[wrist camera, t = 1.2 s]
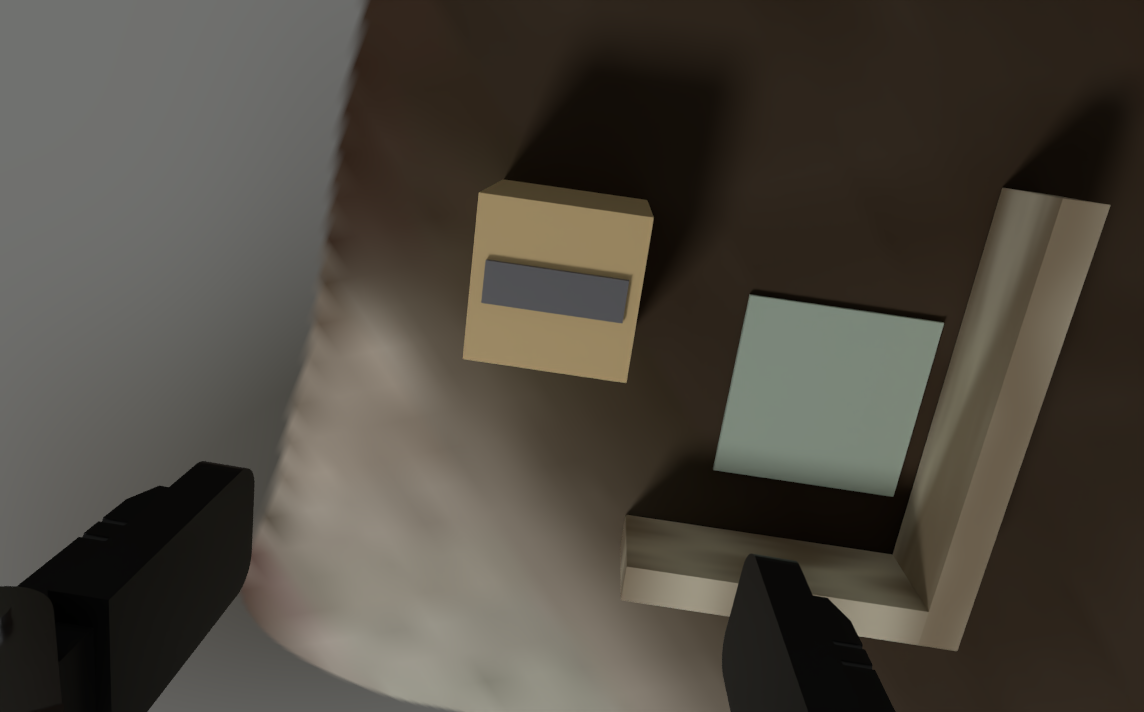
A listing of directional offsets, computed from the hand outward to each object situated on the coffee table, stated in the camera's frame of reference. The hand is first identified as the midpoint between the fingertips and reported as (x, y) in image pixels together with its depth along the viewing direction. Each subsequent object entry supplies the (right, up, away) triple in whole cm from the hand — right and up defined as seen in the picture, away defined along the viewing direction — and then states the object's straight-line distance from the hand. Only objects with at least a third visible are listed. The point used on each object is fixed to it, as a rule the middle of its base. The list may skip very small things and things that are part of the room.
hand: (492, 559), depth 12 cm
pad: (+11, +2, +18) cm, 22 cm away
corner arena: (+10, +2, +18) cm, 21 cm away
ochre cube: (+1, +7, +17) cm, 19 cm away
